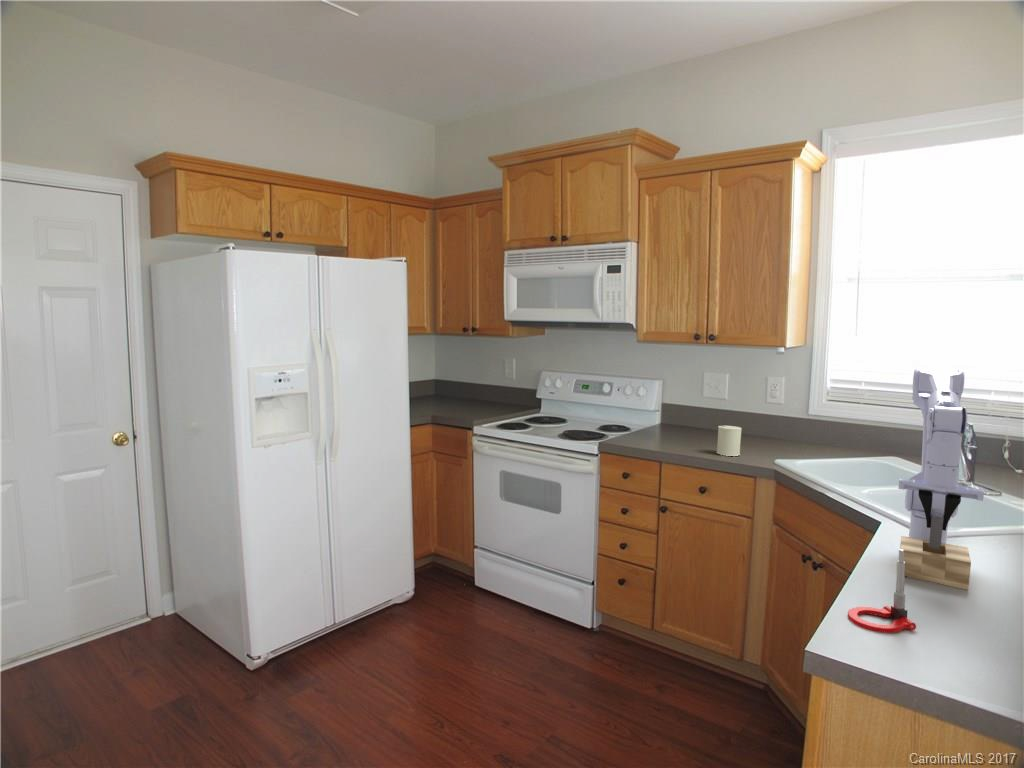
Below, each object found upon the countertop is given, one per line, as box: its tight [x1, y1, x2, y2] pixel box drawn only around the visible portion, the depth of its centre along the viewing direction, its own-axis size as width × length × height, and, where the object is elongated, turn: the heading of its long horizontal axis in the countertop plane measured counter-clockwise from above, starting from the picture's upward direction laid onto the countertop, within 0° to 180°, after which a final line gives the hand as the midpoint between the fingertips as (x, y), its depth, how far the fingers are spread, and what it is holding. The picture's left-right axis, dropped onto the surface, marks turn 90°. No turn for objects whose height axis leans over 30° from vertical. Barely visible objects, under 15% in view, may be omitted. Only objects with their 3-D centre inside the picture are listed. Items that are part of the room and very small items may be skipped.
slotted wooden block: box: [899, 535, 972, 590], centre depth 132 cm, size 11×12×6 cm
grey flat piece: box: [929, 508, 944, 549], centre depth 131 cm, size 7×2×7 cm, turn 147°
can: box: [716, 425, 742, 456], centre depth 257 cm, size 9×9×12 cm
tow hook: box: [847, 548, 917, 634], centre depth 108 cm, size 8×13×9 cm
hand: (936, 528), depth 131 cm, fingers closed on grey flat piece, 2 cm apart
